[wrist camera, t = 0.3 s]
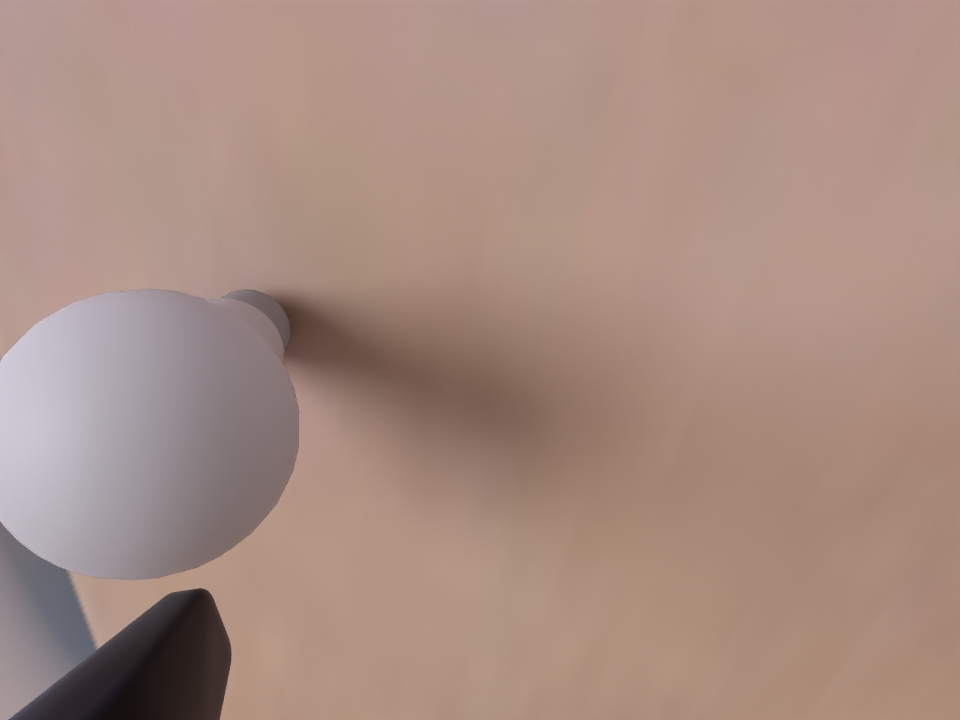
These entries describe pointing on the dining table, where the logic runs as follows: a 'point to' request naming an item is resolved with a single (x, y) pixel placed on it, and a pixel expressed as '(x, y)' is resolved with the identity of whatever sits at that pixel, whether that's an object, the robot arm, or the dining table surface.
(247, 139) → the dining table surface
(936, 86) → the dining table surface
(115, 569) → the lightbulb
